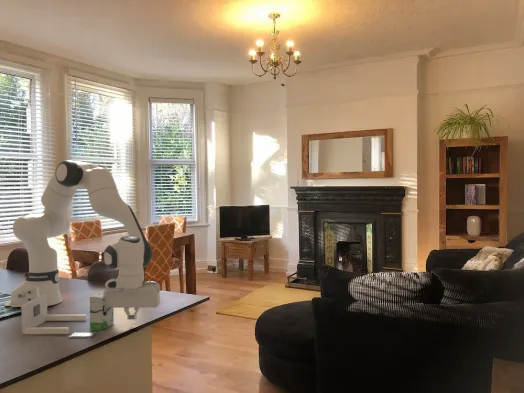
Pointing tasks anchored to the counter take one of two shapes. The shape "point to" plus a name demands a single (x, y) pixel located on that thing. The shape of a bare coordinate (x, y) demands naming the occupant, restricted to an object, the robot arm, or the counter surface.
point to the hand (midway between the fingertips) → (132, 319)
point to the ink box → (100, 313)
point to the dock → (43, 318)
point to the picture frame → (82, 335)
